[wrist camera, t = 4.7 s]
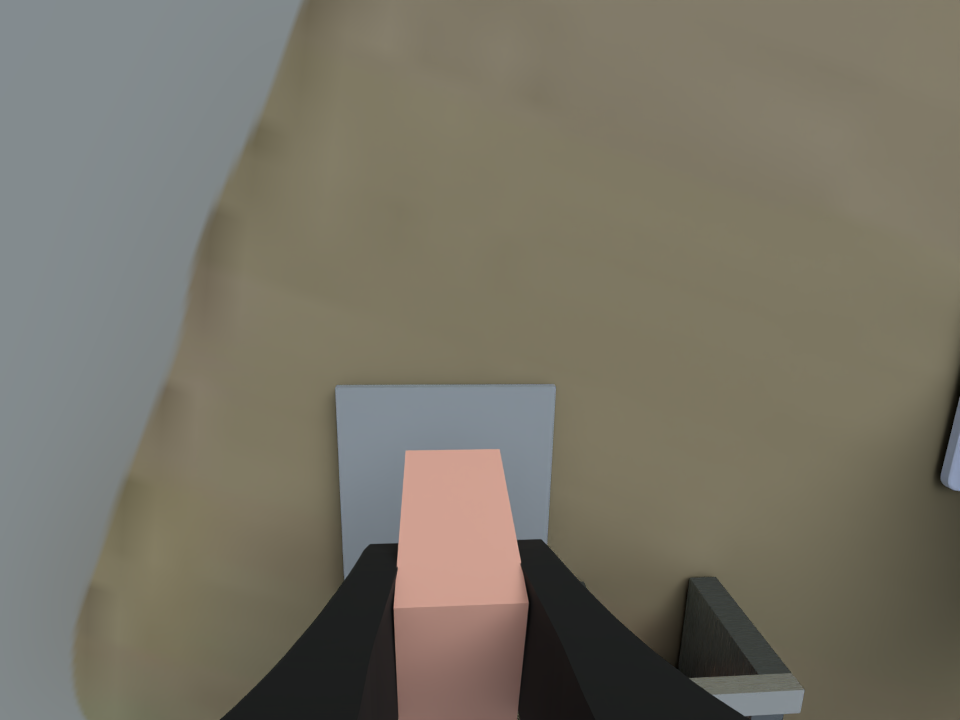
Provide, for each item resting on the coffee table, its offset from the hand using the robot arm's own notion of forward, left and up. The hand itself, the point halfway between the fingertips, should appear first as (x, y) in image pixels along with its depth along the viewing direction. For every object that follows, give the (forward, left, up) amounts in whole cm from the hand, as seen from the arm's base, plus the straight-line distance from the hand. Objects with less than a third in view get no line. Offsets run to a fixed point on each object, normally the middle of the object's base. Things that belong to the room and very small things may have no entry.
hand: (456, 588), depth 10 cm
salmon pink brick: (0, +2, -3) cm, 3 cm away
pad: (0, +2, -8) cm, 9 cm away
